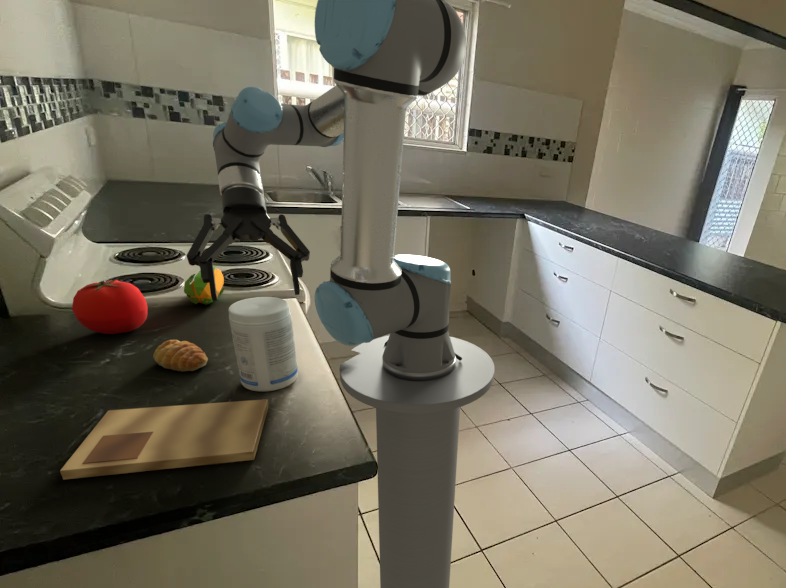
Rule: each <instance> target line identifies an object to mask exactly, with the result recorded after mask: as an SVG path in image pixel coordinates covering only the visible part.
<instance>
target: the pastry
mask: <svg viewBox="0 0 786 588" xmlns="http://www.w3.org/2000/svg"><path fill="white" fill-rule="evenodd" d="M152 355H153V356H152V357H153V358H152V359H153V360H154V362H156V364H157V365H158V366H160V367H162V368H164V369H168V370H172V371H177V372H194V371H197V370H199V369H201V368H203V367H204V366H206V365H207V363H208V360H209V358H208V357H207V355H206V352H205V351H203V350H202V348H201V347H199V346H198V345H196V344H195V343H193V342H190V341H188V340H182V341H180V340H178V339H168V340H164V341H163V342H162V343H161V344H160V345H158V346H157V347H156V348H155V350H154V352H153V354H152Z"/></svg>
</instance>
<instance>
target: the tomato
mask: <svg viewBox="0 0 786 588" xmlns="http://www.w3.org/2000/svg"><path fill="white" fill-rule="evenodd" d="M121 277H122V276H121V275H120V276H118V277H116V278H114V279H112V280H107V281H104V280H101V281H98V282H92V283H89V284H86V285H85V286H83V287H82V288H80V289H78V290H77V291H76V293H75V295H74V296H73V298H72V306H71V310H72V312H73V314H74V316H75V318H76V320H77V321H78V322H79V323H80V325H82V326H83V327H84V328H86V329H87V330H89V331H92V332H94V333H97V334H98V333H99V334H104V335H117V334H123V333H130V332H132V331H135V330H136V329H138V328H140V327H141V326H143V324H144V323H145V322H146V320H147V319H148V311H149V309H148V308H149V307H148V303H147V300H146V298H145V296H144V294H143V293H142V292H141V290H140V288H138V287H137V286H136V285H134V284H133V283H130V282H126V281H120V280H118V279H119V278H121Z"/></svg>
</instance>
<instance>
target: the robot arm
mask: <svg viewBox="0 0 786 588" xmlns="http://www.w3.org/2000/svg"><path fill="white" fill-rule="evenodd" d="M465 31H466V30H465V27H464V25H463V21H462V19H461V17H460V16H459V14H458V12H457V10H456V9H455V8H454V7H453V6H452V5H451V4H450V3H449V2H448V1H447V0H317V3H316V6H315V12H314V36H315V41H316V43H317V45H319V49H318V50H319V52H320V55H321V56H322V58H323V59H324V60H325V61H326V62H327V63H328V65H330V66H331V67H332V68H333V83H334V84H335V85H334V86H333V87H331V88H329V89H328V90H327V91H325V92H324V93H323V94H321V95H320V96H318V97H317V98H315V99H314V100H312V101H311V102H309V103H307V104H305V105H300V104H291V103H281V102H280V101H279V100H278V99H277V98H276V97H275V96H274V95H273V94H272V93H271V92H269V91H268V90H266V91H265V90H262V88H261V87H258V86H247V87H244V88H243V89H241V90H240V91H239V93H238V95H237V96H236V98H235V100H234V101H233V103H232V105H231V106H230V112H229V115H228V118H227V120H226V121H224V122H222V123H220V124H219V125H217V126H215V128H214V129H213V133H212V136H213V137H212V139H213V140H212V147H213V151H214V157H215V165H216V171H217V181H218V187H219V195H220V201H221V207H222V208H221V210H222V216H221V218H219V217H213V216H212V215H211V214H209V213H207V214H204V215H203V225H202V227H201V228H200V230H199V232H198V234H197V235H196V237H195V239H194V241H193V243H192V245H191V246H190V248H189V249H188V251H187V253H186V259H187V262H188V264H189V265H190V266H194V267H195V266H198V267H199V271H201V278H202V281H203V282H204V283H209V284H210V292H211V297H212V300H213V301H214V302H217V301H219V300H218V299H217V292H216V284H215V276H214V268H213V266H214V264H213V263H214V262H215V261H216V260H217V258H218V257H220V256H221V254H222V253H223V252H224V251H225V250H226V249H227V248H228V247H229V246H230V245H232V244H234V242H235V241H236V240H239V242H246V241H253V242H258V241H259V240H262V241H264V242H265V243H266V244H269V245H270V246H271V247H273V248H275V249H276V250H277V251H278V252H280V254H282V255H283V256H285V257H286V258H287V259H288V260H289V266H290V268H289V269H290V272H291V280H292V285H293V290H294V296H299V295H300V291H301V287H300V282H299V281H300V280H299V278H303V276H304V269H303V264H302V263H303V262H307V261H309V260H310V254H311V252H310V249H309V248H308V247H307V245H305V243H304V242H303V241H302V239H301V238H300V237H299V236H298V235H297V234H296V232H295V231H294V230H293V229H292V228H291V226H290V225H289V224H288V221H287V218H286V215H284V214H282V213H281V214H279V215H278V217H270V216H269V215H268V210H267V206H266V205H267V204H266V199H265V191H264V186H263V181H262V180H263V179H262V174H261V168H260V161H261V159H262V156H263V155H264V153H265V151H266V150H267V148H268V147H269V146H270V145H272V146H302V147H304V146H306V147H319V148H320V147H321V148H328V147H337V146H340V145H341V143H343V148H342V149H343V151H342V181H341V182H342V185H341V187H342V188H341V218H340V219H341V223H340V225H341V226H340V254H339V256H337V257H336V258H334V259H333V260H332V261H331V262H330V269H329V270H330V273H329V275H330V276H329V280H323V282H321V283H320V284H319V285H318V286H317V287H316V289H315V291H314V305H315V309H316V313H317V316H318V318H319V320H320V322H321V324H322V325H323V328H324V329H325V330H326V331H327V333H328V334H329V335H330V337H332V338H333V339H334V340H335V341H336V342H338V343H340V344H342V345H344V346H347V347H355V346H358V345H360V344H362V343H369V342H371V341H372V340H374V339H377V338H379V337H383V336H388V335H390V336H389V339H388V340H387V342H386V343H385V345H384V347H385V346H386V347H385V350H384V353H383V356H382V359H383V368H384V370H385V371H386V372H387V373H388V374H390V375H392V376H394V377H396V378H399V379H403V380H408V381H430V380H436V379H439V378H442V377H445V376H447V375H448V374H450V373H451V372H452V371H453V370H454V368H455V362H456V358H457V359H458V360H460V361H461V360H462V358H461V357H460V356H459V355H457V354H456V353H455V352H454V349H453V346H452V342H451V339H450V337H451V335H450V332H449V326H450V324H449V323H450V309H451V307H450V306H451V292H452V291H451V287H452V281H451V280H452V279H451V277H452V276H451V275H452V273H451V268H450V265H448V264H447V263H446V262H444V261H442V260H440V259H437V258H433V257H429V256H424V255H418V254H417V255H416V254H395V250H396V249H395V247H396V235H397V226H398V225H397V224H398V213H399V212H398V211H399V202H400V201H399V200H400V187H401V176H402V165H403V164H402V163H403V152H404V140H405V128H406V127H405V126H406V115H407V109H408V107H409V106H410V105H411V104H412V103H414V101H416V100H417V99H418V98H419V97H424V96H427V95H430V94H431V93H433V92H435V91H438V90H439V89H441V88H442V87H444V86H445V85H447V84H448V83H449V82H450V81H451V80H452V79H454V77H456V75H457V74H458V73H459V71H460V69H461V68H462V66H463V63H464V60H465V56H466V50H467V37H466V32H465ZM220 226H221V227H222V228H223V229H224V230H223V231H222V233H221V234H220V235H219V236H218V238H217V239H215V241H214V242H213V243H212V244H211V245H209V247H208V248H207V245H208V243H209V242H210V240H211V238H212V237H213V233H214V231H216V230H217V229H218V228H219V227H220ZM272 226H274V227H275V228H276V229H277V230H279V231H280V233H281V234H282V235H283V236H284V237H285V239H286V240H287V242H288V243H289V244H290V245H291V246H290V245H289V244H288V243H287V242H285V241H284V240H283V239H282V238H281V237H279V236H278V235H277V234H276V233H274V231H273V230H272V229H271V227H272Z"/></svg>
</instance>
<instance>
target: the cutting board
mask: <svg viewBox="0 0 786 588" xmlns="http://www.w3.org/2000/svg"><path fill="white" fill-rule="evenodd" d="M269 407H270V406H269V399H264V398H263V399H251V400H238V401H223V402H208V403H196V404H195V403H193V404H182V405H165V406H154V407H152V406H150V407H138V408H137V407H136V408H123V409H109V410H107V411H106V413H105V414H104V415H103V416H102V418H100V420H99V421H98V422H97V424H96V425H95V426H94V428H93V429H91V431H90V432H89V434H88V435H87V436H86V437H85V438H84V440H83V441H82V442H81V444H80V445H79V446H78V448H77V449H76V450H75V451H74V452H73V454H72V455H71V456H70V458H69V459H68V460H67V461H66V462H65V464H64V465H63V466H62V467H61V469H60V470H59V472H60V475H61V478H62V480H63V481H65V480H74V479H76V480H77V479H84V478H92V477H93V478H94V477H103V476H112V475H114V476H115V475H121V474H123V475H124V474H132V473H143V472H151V471H160V470H171V469H179V468H189V467H198V466H200V467H201V466H208V465H219V464H227V463H236V462H245V461H247V462H248V461H255V458H256V454H257V452H258V447H259V443H260V439H261V436H262V432H263V429H264V425H265V421H266V417H267V414H268V410H269Z"/></svg>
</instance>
